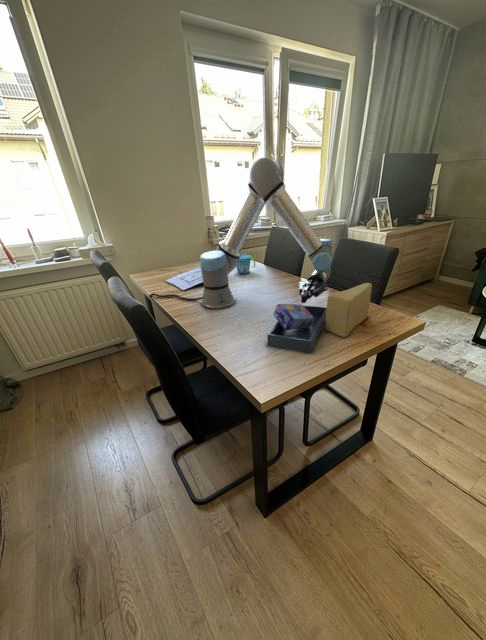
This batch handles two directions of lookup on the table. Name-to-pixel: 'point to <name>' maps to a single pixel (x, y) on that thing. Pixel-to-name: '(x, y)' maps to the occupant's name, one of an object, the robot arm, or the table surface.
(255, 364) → the table surface
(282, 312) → the ink cartridge box
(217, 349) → the table surface
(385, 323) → the table surface
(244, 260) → the snack cup
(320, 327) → the bin
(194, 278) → the papers
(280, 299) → the table surface
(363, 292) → the cheese
